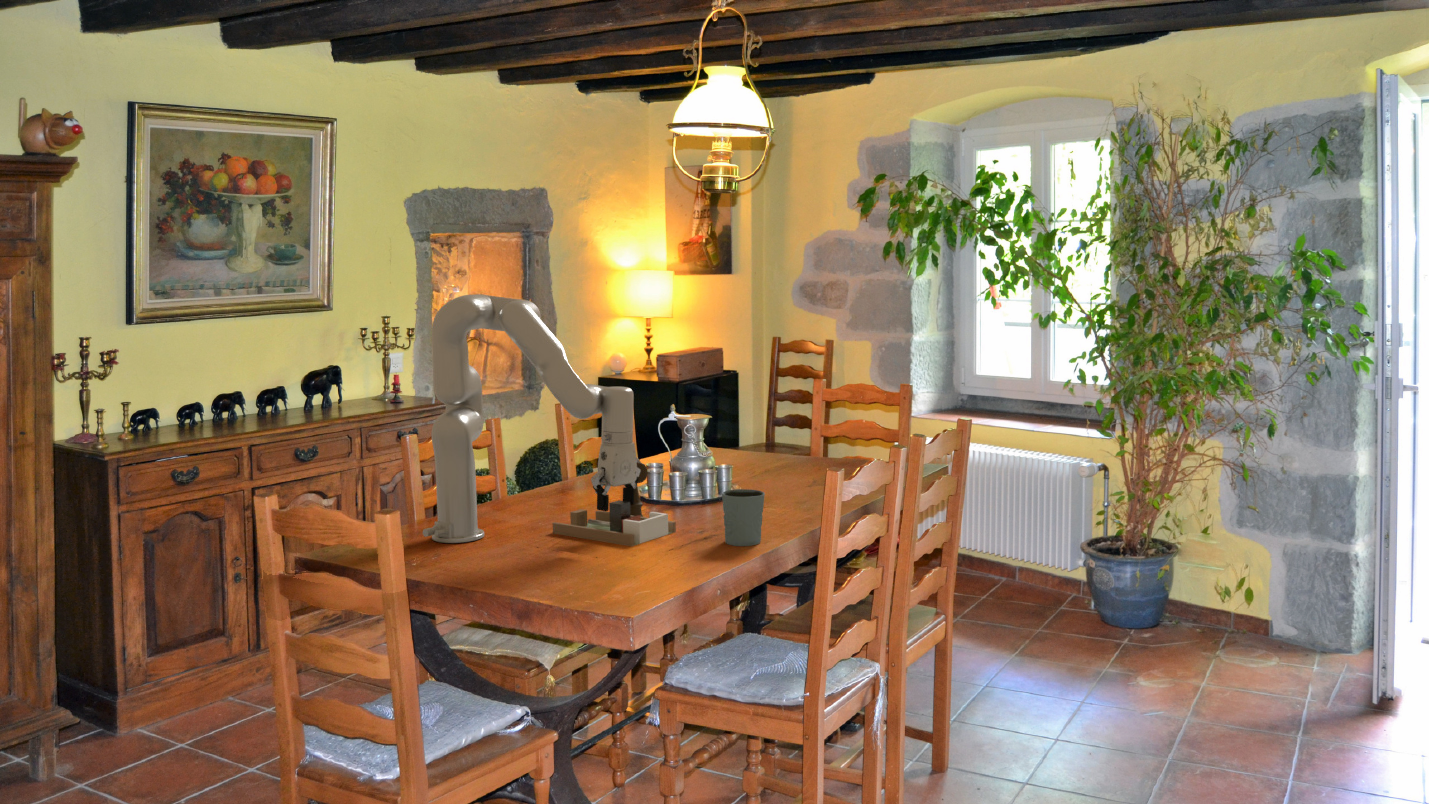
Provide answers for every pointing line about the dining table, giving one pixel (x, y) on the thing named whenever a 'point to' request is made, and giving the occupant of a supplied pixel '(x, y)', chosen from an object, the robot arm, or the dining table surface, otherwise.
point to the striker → (617, 516)
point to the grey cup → (743, 516)
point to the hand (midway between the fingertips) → (615, 507)
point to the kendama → (642, 477)
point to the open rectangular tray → (631, 533)
